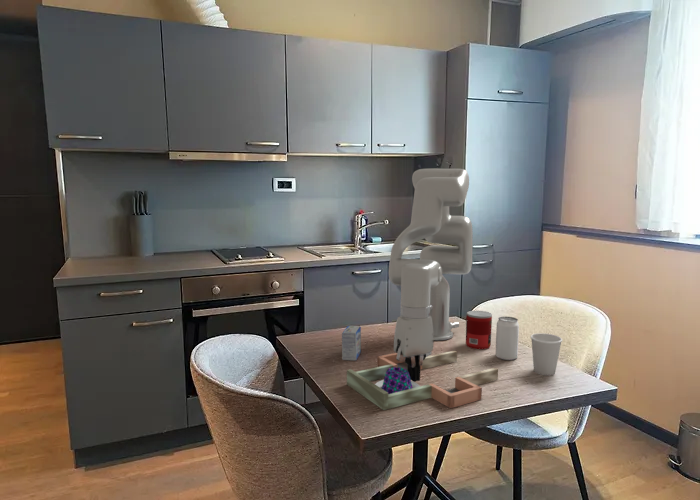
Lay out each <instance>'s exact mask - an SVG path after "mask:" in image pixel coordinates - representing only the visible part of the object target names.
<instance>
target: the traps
mask: <svg viewBox="0 0 700 500" xmlns="http://www.w3.org/2000/svg"><path fill="white" fill-rule="evenodd" d="M396 357H397V353H395V352H393V353H389V354H384V355H383V354H382V355H379V356H377V358H376V360H377V361H376V366H377V367H380V366H385V365H390V364H392V365H394V367H396V368H398V367H400V368H403V369H406V370H408V365H407V364H406V363H405V362H400V361H398V360H397V359H396ZM421 370H423V369H422V366H420V371H421ZM428 384H429V385H431V386H432V391H431V398H430V399H433V400H434V401H437V402H438V403H441V405H444V406H446V407H448V408H449V409H453V408H457V407H460V406H463V405H467V404H470V403H474V402H477V401H480V400H482V396H483V395H482V391H483V388H482V387H481V386H479V385H475V384H473V383H471V382H469V381H467V380H465V379H463V378H460V376H457V377H455V378H454V388H450V389H446V390H445V389H443V388H441V387H440V386H438V385H436V384H435V383H428Z"/></svg>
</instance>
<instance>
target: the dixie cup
mask: <svg viewBox="0 0 700 500" xmlns="http://www.w3.org/2000/svg"><path fill="white" fill-rule="evenodd" d="M530 339H531V350H532V352H531V353H532V364H533V366H532V367H533V372H534V373H535V374H538V375H542V376H554V375H555V374H556V370H557V365H558V360H559V357H560V356H559V355H560V352H561V351H560V350H561V346H562V342H563V338H562V337H561V336H558V335H555V334H551V333H545V332H544V333H540V332H538V333H533V334H530Z"/></svg>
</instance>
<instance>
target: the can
mask: <svg viewBox="0 0 700 500" xmlns="http://www.w3.org/2000/svg"><path fill="white" fill-rule="evenodd" d="M518 321H519V320H518V318H516V317H512V316H499V317H498V320H497V322H496V335H495V357H496V358H497V359H500V360H504V361H515V360H516V359H517V358H518V353H519V335H520V332H519V329H520V325H519V324H520V323H519V322H518Z"/></svg>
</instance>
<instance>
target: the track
mask: <svg viewBox="0 0 700 500" xmlns="http://www.w3.org/2000/svg"><path fill="white" fill-rule="evenodd" d="M456 362H458V351H456V350H451V351H446V352H441V353H437V354H433V355H432V354H431V355H429V356H428V357H426V358H425V359H424V360H423V364H422V370H425V369H430V368H435V367H438V366H444V365H448V364H452V363H456ZM393 367H394V365H392V364H390V365H385V366H380V367H372V368H367V369H362V370H359V371H354V370H353V369H346V385H347V386H348V387H349V388H351V389H353V390H354V391H355V392H357V393H358V394H359V395H361V396H363V398H365V399H367V400H368V401H370V402H371V403H372V404H374V405H376V406H377V407H379V408H380V410H383V411H386V410H390V409H394V408H397V407H401V406H404V405H409V404H412V403H416V402H419V401H420V402H421V401H424V400H427V399H432V398H431V391H432V386H431V385H429V384H430V383H428V384H424V385H419V386H420V387H416V388H412V389H408V390H404V391H400V392H396V393H392V394H388V392H386V391H384V390H383V389H382V387H381V388H380V387H378V386H377V385H375V384H376V383H373V381H377V380H384V378H385V374H386V371H387V370H388V369H389V368H393ZM459 377H460V378H463V379H465V380H467V381H469V382H471V383H473V384H475V385H477V386H479V385H483V384H487V383H490V382H495V381H498V380H499V368H496V367H492V368H488V369H485V370H481V371H476V372H473V373H468V374H463V375H460V376H459Z"/></svg>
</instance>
